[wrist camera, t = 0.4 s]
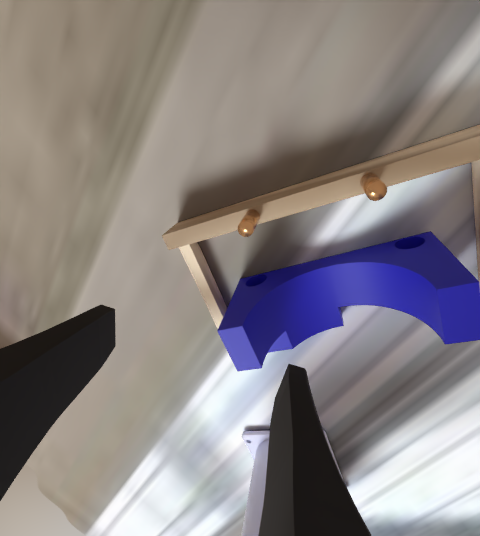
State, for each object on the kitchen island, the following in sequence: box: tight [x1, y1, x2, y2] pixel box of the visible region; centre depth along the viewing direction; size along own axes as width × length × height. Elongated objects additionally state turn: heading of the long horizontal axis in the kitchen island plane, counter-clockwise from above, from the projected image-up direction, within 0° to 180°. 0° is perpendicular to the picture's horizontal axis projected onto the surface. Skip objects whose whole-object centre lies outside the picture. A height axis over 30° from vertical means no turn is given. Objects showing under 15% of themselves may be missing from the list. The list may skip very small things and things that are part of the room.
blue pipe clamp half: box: [217, 231, 480, 371], centre depth 18 cm, size 12×4×6 cm, turn 112°
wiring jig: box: [162, 125, 480, 328], centre depth 17 cm, size 11×18×4 cm, turn 111°
